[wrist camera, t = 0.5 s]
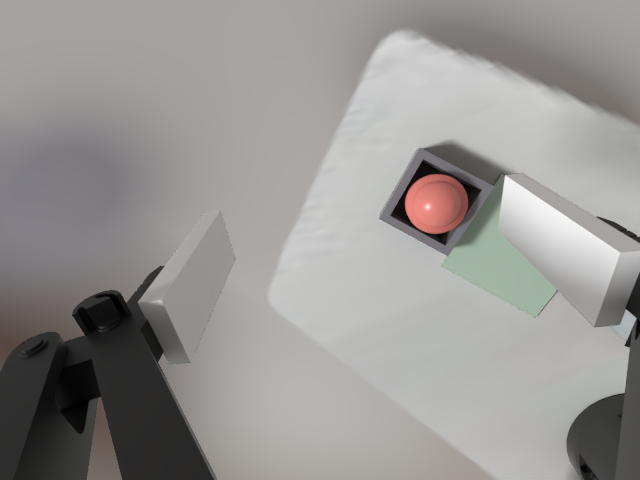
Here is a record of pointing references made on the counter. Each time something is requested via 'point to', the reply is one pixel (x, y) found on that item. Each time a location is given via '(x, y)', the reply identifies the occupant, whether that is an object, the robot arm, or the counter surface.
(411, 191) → the red dome
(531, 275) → the sage square
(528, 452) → the counter surface
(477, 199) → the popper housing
